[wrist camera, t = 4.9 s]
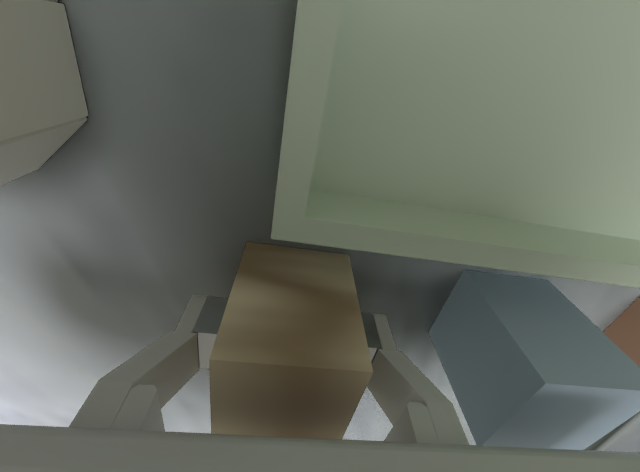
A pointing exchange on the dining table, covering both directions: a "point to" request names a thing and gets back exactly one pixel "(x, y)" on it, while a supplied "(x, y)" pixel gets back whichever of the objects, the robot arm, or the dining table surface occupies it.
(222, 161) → the dining table surface
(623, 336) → the terracotta block
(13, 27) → the cup
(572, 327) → the blue block
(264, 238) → the dining table surface
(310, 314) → the birch block
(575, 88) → the tray
